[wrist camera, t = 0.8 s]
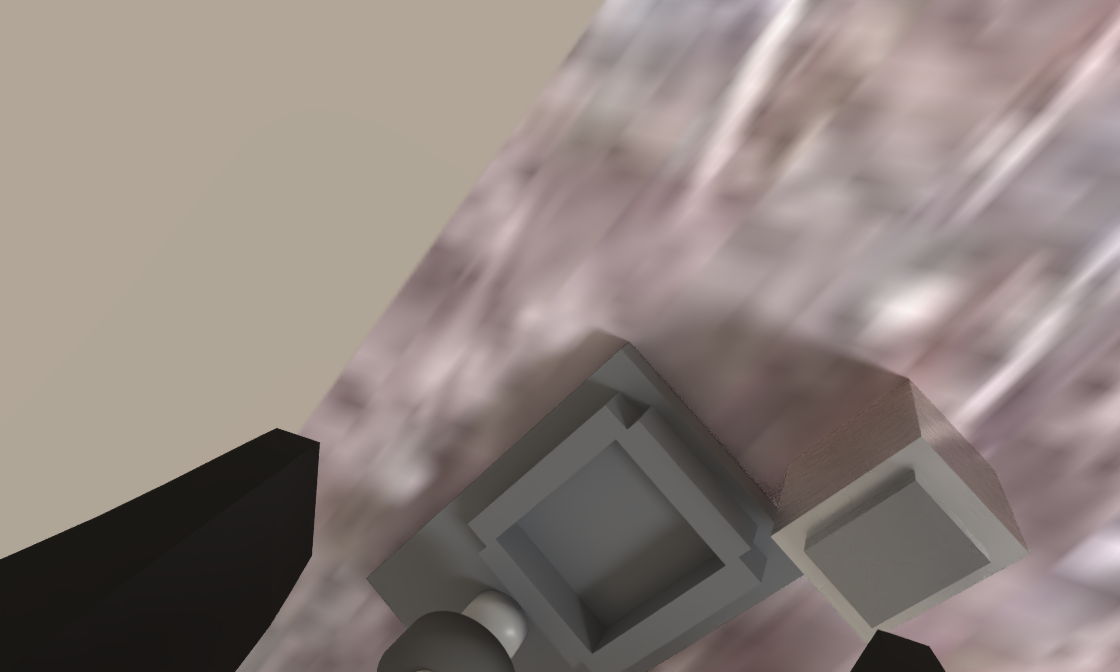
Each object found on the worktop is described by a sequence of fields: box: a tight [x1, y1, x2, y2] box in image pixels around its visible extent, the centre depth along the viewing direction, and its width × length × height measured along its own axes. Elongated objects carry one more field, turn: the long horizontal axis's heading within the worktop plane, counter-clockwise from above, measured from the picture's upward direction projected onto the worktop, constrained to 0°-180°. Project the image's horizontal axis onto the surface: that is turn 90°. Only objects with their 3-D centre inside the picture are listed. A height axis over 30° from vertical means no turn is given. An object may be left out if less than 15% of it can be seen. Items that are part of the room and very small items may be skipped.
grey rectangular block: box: [771, 379, 1030, 644], centre depth 20 cm, size 4×4×6 cm
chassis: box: [366, 342, 804, 672], centre depth 26 cm, size 9×15×2 cm, turn 136°
